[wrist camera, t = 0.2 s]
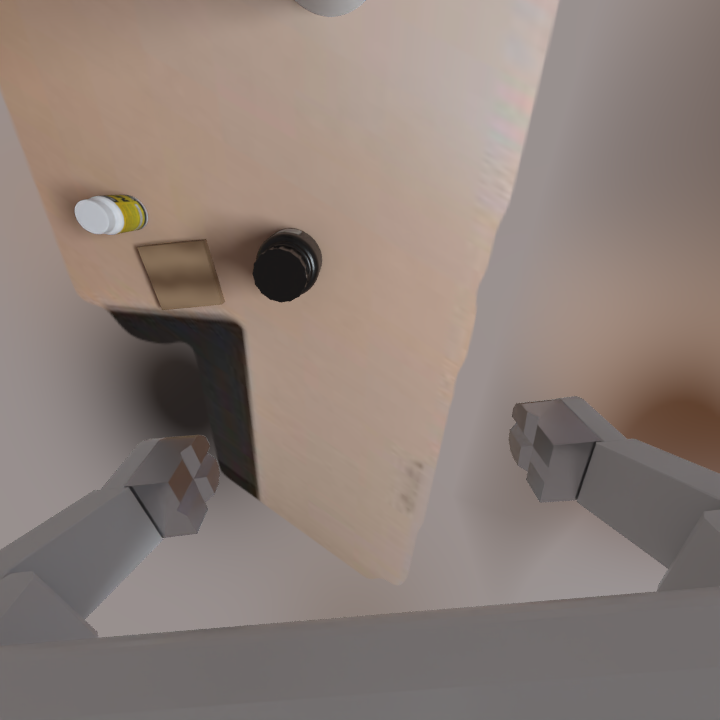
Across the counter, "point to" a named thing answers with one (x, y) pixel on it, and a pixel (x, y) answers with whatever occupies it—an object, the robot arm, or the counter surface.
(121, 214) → the supplement bottle
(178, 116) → the counter surface
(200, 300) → the tan slab
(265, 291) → the ink bottle
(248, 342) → the counter surface
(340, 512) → the counter surface
